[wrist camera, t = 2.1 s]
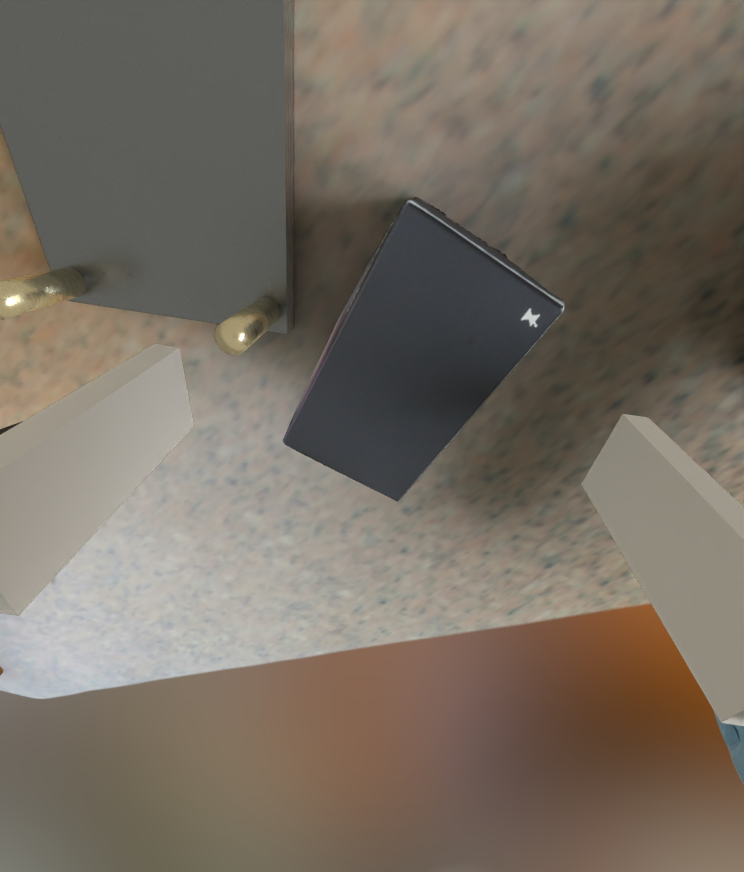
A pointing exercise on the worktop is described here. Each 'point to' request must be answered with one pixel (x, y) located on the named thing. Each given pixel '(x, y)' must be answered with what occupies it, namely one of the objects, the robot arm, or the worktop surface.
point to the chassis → (155, 157)
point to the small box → (417, 351)
